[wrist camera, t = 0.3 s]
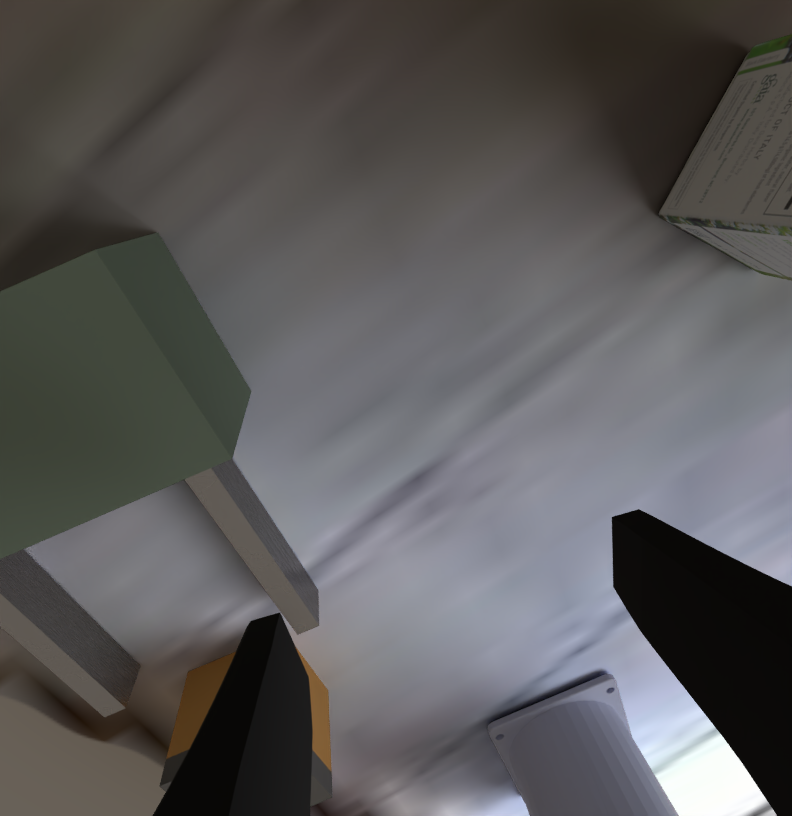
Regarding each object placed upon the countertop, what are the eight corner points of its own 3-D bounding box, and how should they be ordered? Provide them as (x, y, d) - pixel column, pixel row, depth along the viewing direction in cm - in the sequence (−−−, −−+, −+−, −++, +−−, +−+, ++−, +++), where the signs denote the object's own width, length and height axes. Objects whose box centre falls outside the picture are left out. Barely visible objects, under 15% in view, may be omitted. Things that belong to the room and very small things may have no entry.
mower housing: (358, 573, 22) (370, 670, 18) (81, 691, 22) (24, 817, 18) (157, 232, 15) (95, 249, 11) (-242, 408, 15) (-468, 496, 11)
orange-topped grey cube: (328, 689, 25) (332, 797, 21) (240, 726, 25) (226, 842, 21) (283, 629, 23) (278, 735, 19) (188, 670, 23) (159, 786, 19)
